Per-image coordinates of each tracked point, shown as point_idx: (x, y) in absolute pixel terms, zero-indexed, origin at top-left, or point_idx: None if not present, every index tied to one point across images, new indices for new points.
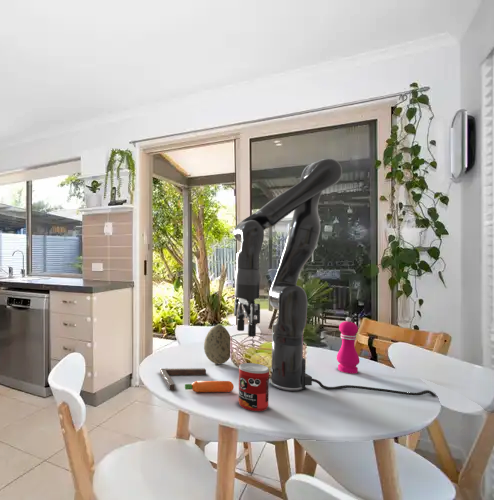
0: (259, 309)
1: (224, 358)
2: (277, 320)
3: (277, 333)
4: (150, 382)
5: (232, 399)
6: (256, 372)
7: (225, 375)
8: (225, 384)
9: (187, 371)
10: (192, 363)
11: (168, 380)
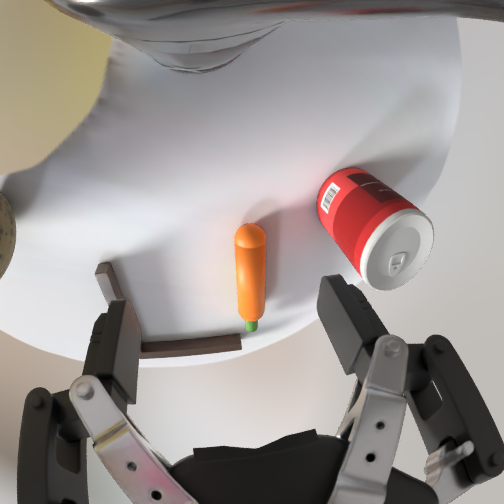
0: (492, 426)
1: (9, 209)
2: (353, 1)
3: (261, 27)
4: (196, 362)
5: (301, 234)
6: (425, 256)
7: (99, 206)
8: (264, 254)
9: None
10: (27, 278)
11: (216, 351)
